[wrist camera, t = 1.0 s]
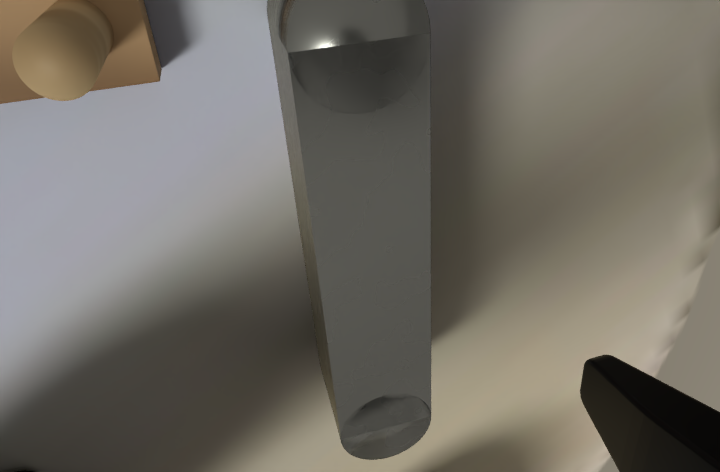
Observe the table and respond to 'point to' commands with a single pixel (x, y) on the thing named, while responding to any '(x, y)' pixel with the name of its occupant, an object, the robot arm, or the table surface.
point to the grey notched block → (363, 205)
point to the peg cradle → (73, 48)
